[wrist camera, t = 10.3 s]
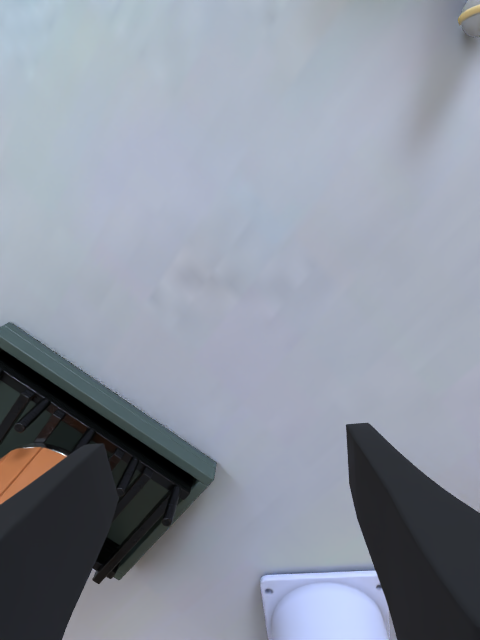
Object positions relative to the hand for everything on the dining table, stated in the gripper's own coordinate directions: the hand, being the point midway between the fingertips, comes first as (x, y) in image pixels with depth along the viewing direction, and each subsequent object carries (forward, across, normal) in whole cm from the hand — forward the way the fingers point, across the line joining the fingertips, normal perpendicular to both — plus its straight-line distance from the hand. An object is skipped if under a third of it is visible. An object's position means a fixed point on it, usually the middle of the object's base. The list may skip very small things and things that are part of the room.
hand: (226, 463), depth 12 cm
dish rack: (+10, +11, +6) cm, 16 cm away
